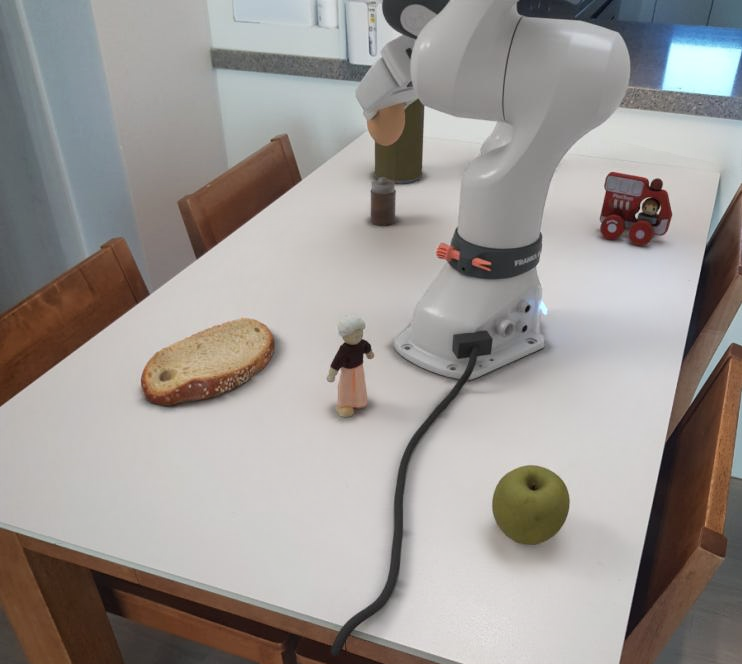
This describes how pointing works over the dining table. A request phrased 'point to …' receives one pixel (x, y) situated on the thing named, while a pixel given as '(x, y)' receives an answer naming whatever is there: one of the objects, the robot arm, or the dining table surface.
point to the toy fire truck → (634, 208)
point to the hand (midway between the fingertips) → (382, 111)
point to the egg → (387, 124)
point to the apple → (530, 504)
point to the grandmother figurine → (350, 366)
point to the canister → (403, 150)
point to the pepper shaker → (383, 202)
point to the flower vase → (498, 137)
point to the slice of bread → (208, 362)
